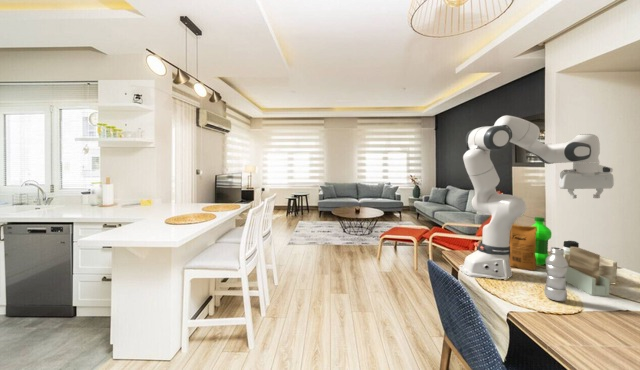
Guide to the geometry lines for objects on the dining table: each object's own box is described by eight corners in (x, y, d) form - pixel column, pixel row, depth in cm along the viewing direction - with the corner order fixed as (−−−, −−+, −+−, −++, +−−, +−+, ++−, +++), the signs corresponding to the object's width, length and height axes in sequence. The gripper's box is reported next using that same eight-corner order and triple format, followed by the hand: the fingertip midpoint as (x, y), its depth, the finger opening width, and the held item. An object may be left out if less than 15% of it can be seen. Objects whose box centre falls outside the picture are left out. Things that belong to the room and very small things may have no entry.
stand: (591, 295, 107) (592, 278, 106) (560, 278, 124) (561, 264, 123) (608, 296, 106) (609, 279, 106) (575, 279, 123) (576, 264, 122)
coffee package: (507, 261, 147) (509, 222, 146) (536, 266, 139) (538, 225, 138) (505, 266, 140) (506, 224, 139) (535, 272, 131) (537, 228, 130)
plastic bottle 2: (562, 305, 99) (564, 252, 98) (540, 297, 105) (542, 247, 104) (570, 301, 102) (572, 249, 101) (548, 294, 108) (550, 245, 107)
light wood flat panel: (591, 290, 109) (593, 254, 108) (568, 279, 121) (570, 246, 120) (598, 291, 109) (599, 255, 108) (574, 279, 120) (576, 246, 120)
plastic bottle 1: (530, 259, 151) (532, 215, 150) (553, 264, 142) (555, 218, 141) (522, 262, 146) (523, 217, 145) (546, 268, 137) (548, 219, 136)
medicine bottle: (583, 265, 142) (584, 242, 141) (569, 265, 142) (570, 242, 141) (570, 260, 149) (571, 239, 148) (557, 260, 149) (558, 239, 148)
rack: (589, 283, 119) (591, 260, 118) (560, 268, 136) (561, 249, 136) (615, 284, 117) (617, 262, 117) (582, 269, 135) (583, 250, 134)
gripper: (565, 169, 124) (564, 199, 125) (617, 168, 120) (616, 198, 121) (555, 169, 130) (555, 197, 131) (604, 168, 127) (604, 197, 127)
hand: (584, 198), depth 126 cm, fingers open, 8 cm apart
